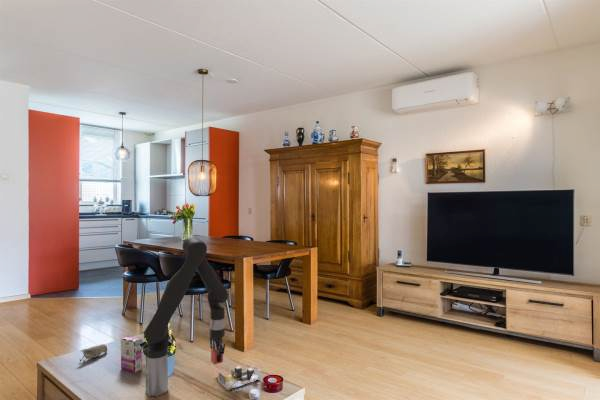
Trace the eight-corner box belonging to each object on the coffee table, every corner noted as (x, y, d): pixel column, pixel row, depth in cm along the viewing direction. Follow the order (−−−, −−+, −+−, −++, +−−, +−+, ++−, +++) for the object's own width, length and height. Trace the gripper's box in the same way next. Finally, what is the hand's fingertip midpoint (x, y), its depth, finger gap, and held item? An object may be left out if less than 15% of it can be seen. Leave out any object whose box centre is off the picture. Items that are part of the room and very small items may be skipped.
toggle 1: (237, 376, 187) (237, 369, 187) (234, 374, 189) (234, 366, 189) (241, 375, 188) (241, 367, 188) (239, 373, 190) (239, 365, 190)
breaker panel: (227, 390, 176) (227, 382, 176) (217, 380, 186) (217, 373, 186) (259, 380, 186) (259, 372, 186) (248, 371, 196) (248, 364, 196)
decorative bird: (109, 353, 220) (109, 341, 220) (84, 365, 205) (84, 351, 205) (103, 352, 222) (103, 339, 222) (77, 363, 207) (77, 349, 207)
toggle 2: (249, 378, 184) (249, 370, 184) (246, 376, 187) (246, 368, 187) (254, 377, 186) (254, 369, 186) (251, 375, 188) (251, 367, 188)
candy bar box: (142, 369, 199) (142, 338, 199) (134, 373, 195) (134, 341, 194) (128, 365, 204) (128, 335, 204) (120, 368, 200) (120, 338, 200)
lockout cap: (214, 364, 190) (214, 351, 190) (211, 361, 194) (211, 348, 194) (222, 362, 193) (223, 349, 193) (219, 359, 197) (219, 346, 197)
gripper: (230, 329, 190) (229, 363, 190) (218, 321, 201) (217, 353, 201) (216, 332, 185) (216, 367, 185) (204, 324, 197) (204, 357, 197)
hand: (216, 359), depth 193 cm, fingers closed on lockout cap, 4 cm apart
